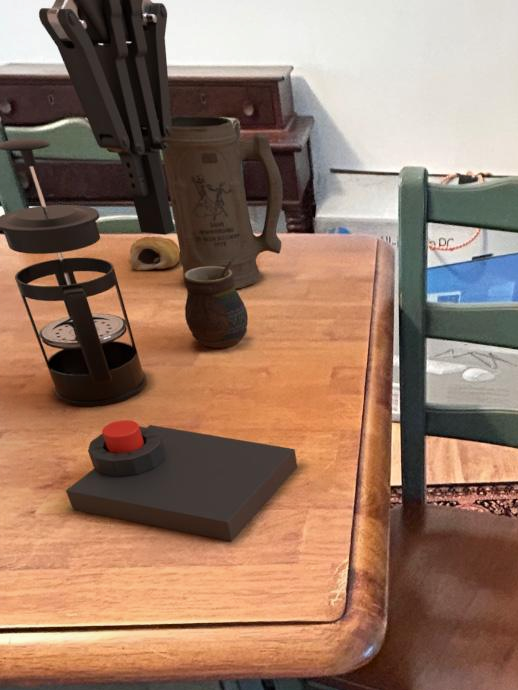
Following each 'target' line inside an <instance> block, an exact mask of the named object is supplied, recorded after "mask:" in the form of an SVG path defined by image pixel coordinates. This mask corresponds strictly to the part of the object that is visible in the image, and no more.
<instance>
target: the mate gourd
mask: <svg viewBox="0 0 518 690" xmlns="http://www.w3.org/2000/svg"><path fill="white" fill-rule="evenodd" d="M233 260H234V259H232V260H230V261H229V263H228V264H227V266H226V267H225V268H224V267H219V266H206V267H198V268H194V269H191V270H189V271H187V272H185V273H184V276H183V275H182V276H183V277H182V278H183V282H184V281H185V282H184V286H185V288H186V290H187V291H186V292H187V296H186V301H185V305H184V307H185V308H184V317H185V321H186V325H187V327H188V330H189V331H190V332H191V335H192V337H193V338H194V339H195V340H196V341H197V342H198V343H200V344H202V345H203V346H205V347H207V348H211V349H213V348H214V349H226V348H229V347H233V346H236V345H237V344H239V343H240V341H242V339H243V338H244V337H245V335H246V334H247V332H248V320H249V318H248V311H247V308H246V306H245V303H244V301H243V300H242V298H241V296H240V294H239V293H238V290H237V289H235V286H234V283H235V282H234V277H233V272H232V271H231V270H230V269H229V268H230V266H231V264H232V262H233Z"/></svg>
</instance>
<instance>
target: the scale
mask: <svg viewBox="0 0 518 690" xmlns="http://www.w3.org/2000/svg"><path fill="white" fill-rule="evenodd" d="M139 428H140V431H141V434H142V438H143V441H144V445H143V446H142V447H141V448H139V449H137V450H134V451H132V452H129V453H119V454H116V453H110V452H109V451H108V449H107V446H106V443H105V440H104V437H103V434H102V433H101V434H99V435H97V436H96V437H95V438H94V439H92V440H90V443H89V445H88V450H87V453H88V455H89V458H90V461H91V464H92V466H93V469H92V470H91V471H89V472H88V473H86V474H85V475H84V476H82V477H81V478H80V479H79V480H77V481H76V482H75V483H73V484H72V485H71V486H69V487H68V488H67V489H66V490H65V493H66V495H67V498H68V500H69V503H70V506H71V508H72V510H73V511H79V512H84V513H88V514H94V515H97V516H98V515H99V516H104V517H109V518H113V519H119V520H123V521H128V522H134V523H139V524H143V525H148V526H154V527H158V528H163V529H169V530H174V531H179V532H183V533H188V534H193V535H199V536H202V537H209V538H213V539H218V540H224V541H228V542H232V541H234V539H236V537H237V536H238V535H239V534H240V533H241V532H242V530H243V529H244V528H245V527H246V526H247V525H248V523H249V522H250V521H251V520H252V519H253V518H254V516H256V515H257V513H258V512H259V511H260V510H261V509H262V508H263V507H264V506H265V505H266V503H267V502H268V501H269V500H270V499H271V498H272V497H273V495H274V494H275V493H276V492H277V491H278V490H279V488H280V487H281V486H283V484H284V483H285V482H286V481H287V480H288V478H289V477H290V476H291V475H292V474H293V473H294V471H296V469H297V468H298V464H297V463H298V462H297V455H296V450H295V448H290V447H284V446H278V445H274V444H273V445H272V444H268V443H267V444H266V443H261V442H254V441H248V440H243V439H236V438H231V437H224V436H219V435H213V434H207V433H200V432H195V431H189V430H182V429H176V428H171V427H166V426H158V425H154V424H150V425H148V426H147V427H145V426H140V425H139Z"/></svg>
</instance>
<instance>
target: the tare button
mask: <svg viewBox="0 0 518 690" xmlns="http://www.w3.org/2000/svg"><path fill="white" fill-rule="evenodd" d="M139 426H140V425H139V423H138V422H136V421H134V420H130V419H129V420H128V419H127V420H126V419H125V420H122V419H121V420H117V421H113V422H110V423H108V424H106V425H105V426H103V428H102V429H101V434H103V437H104V440H105V443H106V446H107V449H108V451H109V452H110V453H116V454H119V453H129V452H132V451H134V450H137V449H139V448H141V447H142V446H143V445H144V441H143V438H142V434H141V431H140V428H139Z"/></svg>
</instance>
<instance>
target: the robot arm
mask: <svg viewBox="0 0 518 690" xmlns="http://www.w3.org/2000/svg"><path fill="white" fill-rule="evenodd" d="M38 18H39V21H40V24H41V25H42V26H43V28H44V29H45V31H46V32H47V34H48V35H49V37H50V38H51V40H52V41H53V42H54V44H55V46H56V47H57V50H58V52H59V54H60V56H61V59H62V61H63V64H64V66H65V70H66V71H67V74H68V76H69V78H70V81H71V83H72V86H73V88H74V91H75V93H76V95H77V98H78V100H79V103H80V105H81V107H82V109H83V113H84V115H85V117H86V119H87V122H88V124H89V126H90V130H91V132H92V134H93V136H94V140H95V141H96V143H97V145H98V147H100V148H101V149H106V150H107V151H108V152H109V153H116V154H117V155H118V157H119V159H120V163H121V168H122V172H123V176H124V179H125V182H126V188H127V190H128V192H129V194H130V196H131V197H132V200H133V204H134V208H135V213H136V217H137V222H138V225H139V229H140V232H141V233H145V234H146V233H147V234H154V235H163V236H166V235H169V234H171V233H174V232H176V228H175V223H174V219H173V216H172V215H173V214H172V211H171V207H170V206H171V205H170V202H169V198H168V193H167V192H168V191H167V178H166V174H165V171H164V170H165V169H164V166H163V165H164V164H163V161H162V156H161V151H162V150H168V149H169V145H170V144H169V141H163V140H164V139H165V138H170V137H171V136H172V122H171V116H172V111H171V110H172V109H171V99H170V86H169V74H168V62H167V61H168V60H167V49H166V31H167V22H168V10H167V8H166V5H165V4H164V3H162V2H153V1H152V0H54V3H53V4H52V6H51V7H41V8H40V9H39V11H38ZM158 120H159V122H158Z"/></svg>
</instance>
